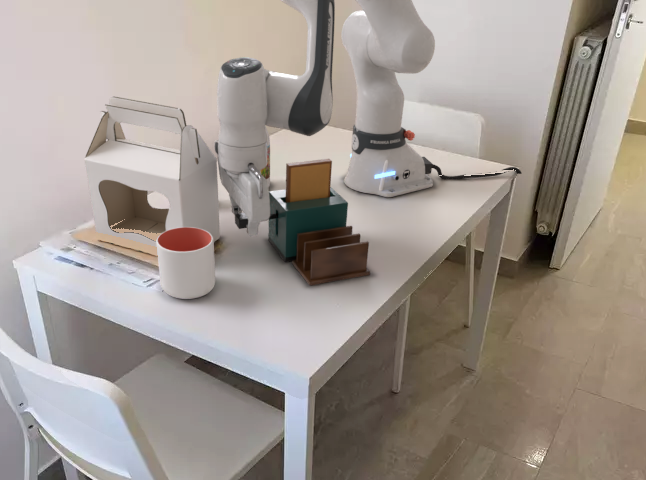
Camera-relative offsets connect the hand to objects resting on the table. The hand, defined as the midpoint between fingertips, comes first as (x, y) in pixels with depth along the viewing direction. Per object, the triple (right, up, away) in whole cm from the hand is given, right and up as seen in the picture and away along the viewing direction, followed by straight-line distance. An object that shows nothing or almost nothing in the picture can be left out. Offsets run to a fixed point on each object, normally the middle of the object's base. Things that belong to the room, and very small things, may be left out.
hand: (244, 224), depth 129 cm
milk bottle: (-1, +15, +34) cm, 37 cm away
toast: (+12, +4, +4) cm, 13 cm away
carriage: (+8, +2, +3) cm, 9 cm away
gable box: (-19, -2, +9) cm, 21 cm away
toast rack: (+17, -9, +1) cm, 19 cm away
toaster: (+12, -3, +9) cm, 15 cm away
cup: (-10, -13, -6) cm, 17 cm away
